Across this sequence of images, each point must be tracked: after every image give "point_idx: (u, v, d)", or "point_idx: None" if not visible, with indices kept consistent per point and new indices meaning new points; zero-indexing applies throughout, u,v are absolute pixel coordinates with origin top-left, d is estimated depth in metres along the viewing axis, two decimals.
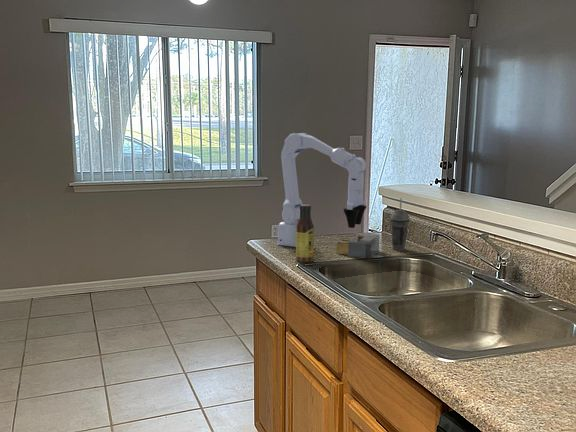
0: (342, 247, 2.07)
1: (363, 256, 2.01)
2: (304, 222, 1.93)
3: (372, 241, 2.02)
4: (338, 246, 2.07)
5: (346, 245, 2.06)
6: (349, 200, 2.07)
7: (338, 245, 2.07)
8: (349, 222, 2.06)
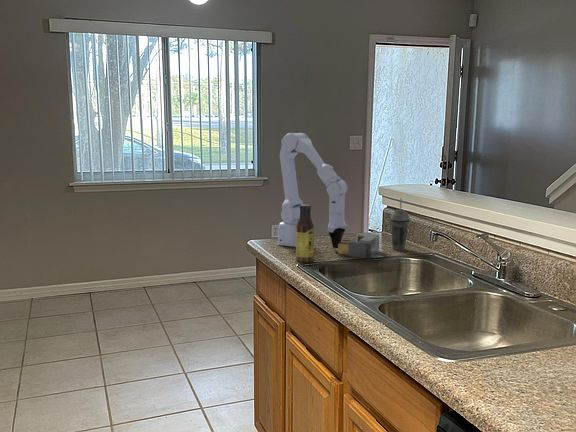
0: (343, 247, 2.07)
1: (363, 256, 2.01)
2: (304, 222, 1.93)
3: (372, 241, 2.02)
4: (339, 246, 2.07)
5: None
6: (330, 222, 2.09)
7: (339, 245, 2.07)
8: (333, 242, 2.11)
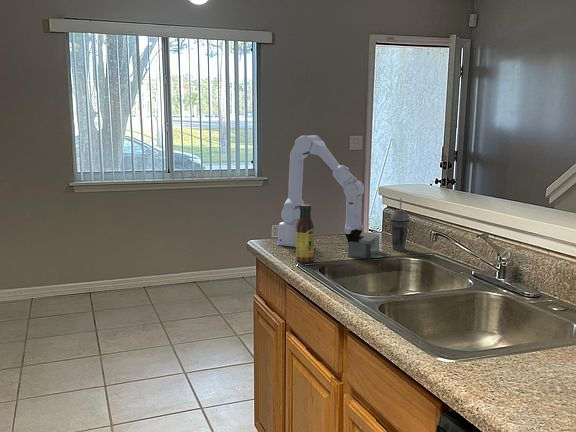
0: None
1: (363, 256, 2.01)
2: (304, 222, 1.93)
3: (372, 241, 2.02)
4: None
5: None
6: (347, 224, 2.06)
7: None
8: None
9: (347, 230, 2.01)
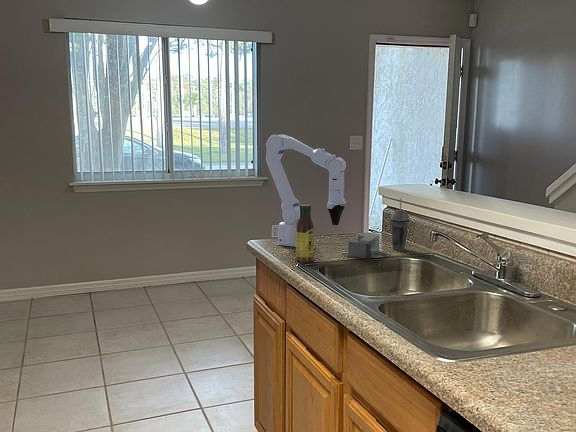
0: None
1: (363, 256, 2.01)
2: (304, 222, 1.93)
3: (372, 241, 2.02)
4: None
5: None
6: (330, 199, 2.12)
7: None
8: (333, 219, 2.14)
9: (329, 205, 2.07)
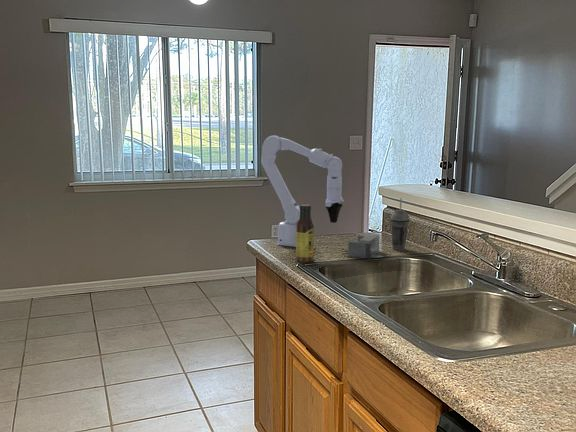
0: None
1: (363, 256, 2.01)
2: (304, 222, 1.93)
3: (372, 241, 2.02)
4: None
5: None
6: (328, 197, 2.16)
7: None
8: (331, 217, 2.19)
9: (327, 203, 2.11)
